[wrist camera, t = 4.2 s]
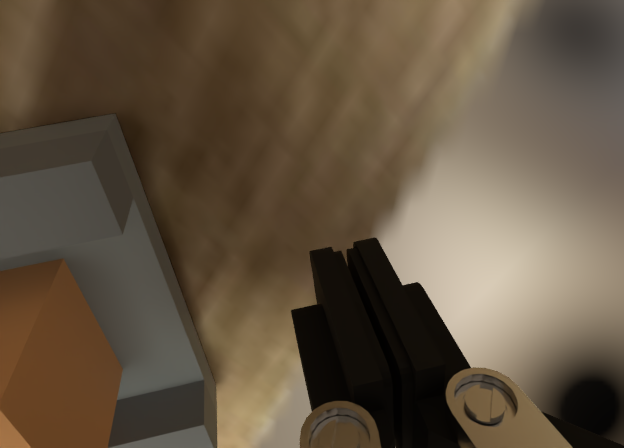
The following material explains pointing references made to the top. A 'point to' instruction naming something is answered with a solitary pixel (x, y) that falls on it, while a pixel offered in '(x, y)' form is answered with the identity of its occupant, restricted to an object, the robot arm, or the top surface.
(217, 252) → the top surface
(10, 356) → the orange cube
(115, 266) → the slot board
